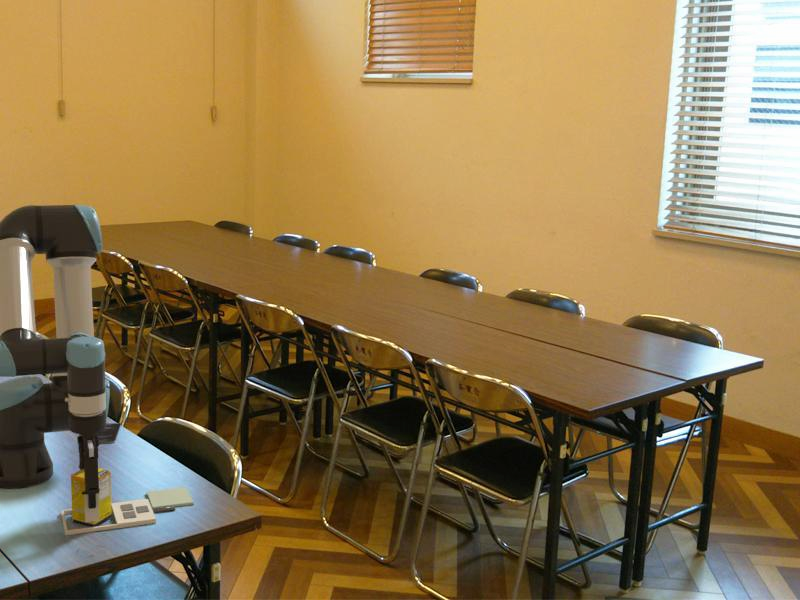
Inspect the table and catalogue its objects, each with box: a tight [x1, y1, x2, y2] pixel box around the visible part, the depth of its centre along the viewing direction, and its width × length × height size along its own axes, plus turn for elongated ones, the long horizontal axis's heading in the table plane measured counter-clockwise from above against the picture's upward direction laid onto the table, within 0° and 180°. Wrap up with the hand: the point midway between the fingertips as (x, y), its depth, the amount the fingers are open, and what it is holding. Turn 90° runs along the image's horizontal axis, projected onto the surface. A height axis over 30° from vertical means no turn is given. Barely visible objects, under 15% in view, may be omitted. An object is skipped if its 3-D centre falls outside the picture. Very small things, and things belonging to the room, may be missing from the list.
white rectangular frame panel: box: [60, 498, 176, 536], centre depth 207 cm, size 11×24×1 cm, turn 113°
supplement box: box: [70, 467, 113, 528], centre depth 203 cm, size 6×6×11 cm
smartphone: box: [95, 422, 122, 445], centre depth 256 cm, size 8×1×15 cm
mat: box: [146, 486, 195, 509], centre depth 217 cm, size 9×9×1 cm
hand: (89, 512), depth 204 cm, fingers closed on supplement box, 8 cm apart
